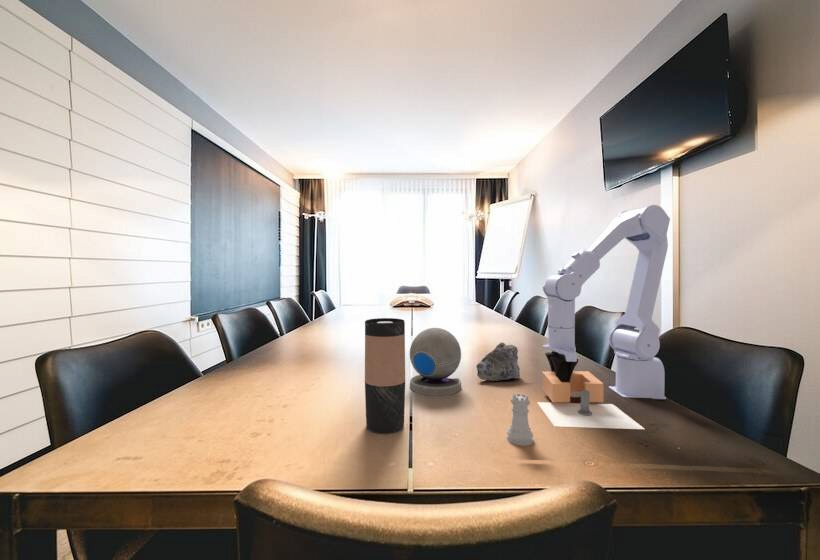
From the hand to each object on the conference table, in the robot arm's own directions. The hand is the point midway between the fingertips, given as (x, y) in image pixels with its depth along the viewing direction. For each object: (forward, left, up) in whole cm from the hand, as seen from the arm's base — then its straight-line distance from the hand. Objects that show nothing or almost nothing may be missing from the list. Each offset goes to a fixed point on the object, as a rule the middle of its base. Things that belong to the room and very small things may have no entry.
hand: (560, 385), depth 87 cm
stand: (-1, +11, -3) cm, 11 cm away
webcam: (+29, -6, -3) cm, 30 cm away
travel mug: (+38, +19, -3) cm, 42 cm away
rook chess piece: (+14, +24, -3) cm, 28 cm away
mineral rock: (+12, -15, -3) cm, 19 cm away
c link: (-1, +3, -1) cm, 3 cm away
